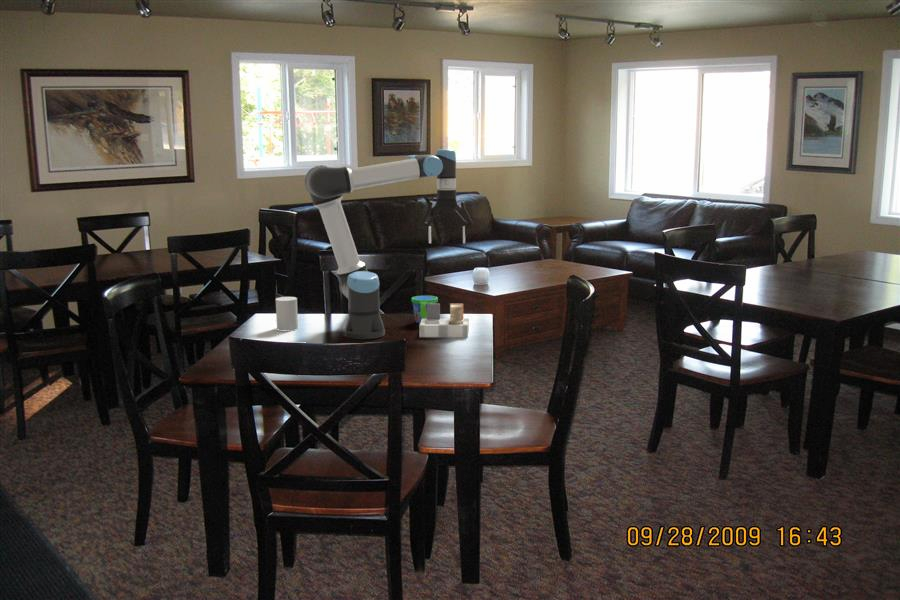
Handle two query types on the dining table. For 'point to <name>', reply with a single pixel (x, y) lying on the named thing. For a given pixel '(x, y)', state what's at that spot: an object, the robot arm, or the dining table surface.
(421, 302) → the snack cup
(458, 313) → the cream tall block
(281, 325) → the white cylinder
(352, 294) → the robot arm
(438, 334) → the socket block
